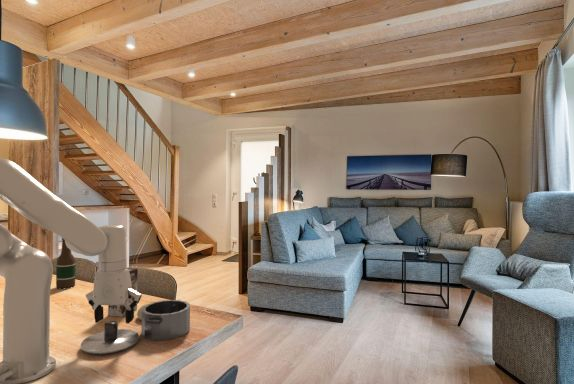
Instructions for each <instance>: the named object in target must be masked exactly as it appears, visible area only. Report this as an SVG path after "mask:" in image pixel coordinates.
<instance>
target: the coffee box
mask: <svg viewBox="0 0 574 384" xmlns="http://www.w3.org/2000/svg"><path fill="white" fill-rule="evenodd" d="M127 269H128V270H129V273H130V278H131V284H132V289H133V290H135V291H137V292H138V276H139V275H138V274H139V272H138V270H139V269H138V268H128V267H127ZM134 299H135V297H134V296H132V299H131V300H132V301H134ZM137 309H138V304H137V305H136V306H135V307H134V311H136V310H137ZM126 310H127V308H126V307H125V306H124V305H107V316H109V317H110V316H111V317H120V318H123V317H125V311H126Z"/></svg>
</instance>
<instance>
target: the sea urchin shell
mask: <svg viewBox="0 0 574 384" xmlns="http://www.w3.org/2000/svg"><path fill="white" fill-rule="evenodd" d="M148 304H149V303H146V304H144V305H142V306H140V308H139V309H138V311H137V313H136V315H137V318H138V319H139V320H140V321H142V309H143V307H144V306H146V305H148Z"/></svg>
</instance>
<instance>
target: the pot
mask: <svg viewBox="0 0 574 384" xmlns="http://www.w3.org/2000/svg"><path fill="white" fill-rule="evenodd" d="M147 304H148V305H146V304H145V305H146V306H144V307H143V309H142V320H141V336H142V338H143V339H146V340H149V341H154V342H155V341H156V342H162V341H170V340H174V339H178V338H181V337H183V336H185V335H187V334H188V333H189V332H190V330H191V325H190V324H191V320H190V319H191V316H190V315H191V304H190V302H187V301H185V300H181V299H167V300H166V299H164V300H159V301H154V302H151V303H147Z"/></svg>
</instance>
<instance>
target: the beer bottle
mask: <svg viewBox="0 0 574 384" xmlns="http://www.w3.org/2000/svg"><path fill="white" fill-rule="evenodd" d="M61 241H62V243H61V251H60V254H59V256H58V257H57V260H56V264H55V265H56V270H55V271H56V272H55V273H56V274H55V276H56V277H55V279H56V280H55V287H56V289H58V288H68V289H72V288H74V287H75V286H76V258H75V256H74V254H72V250H70V249H69V248H68V247H67V246H66V244H65V240H64V239H63V238H61ZM71 287H72V288H71Z"/></svg>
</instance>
